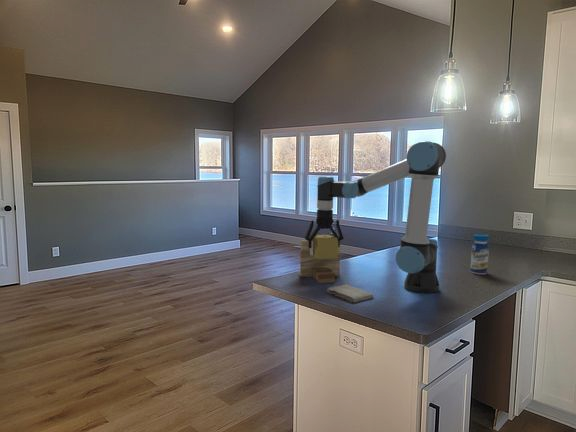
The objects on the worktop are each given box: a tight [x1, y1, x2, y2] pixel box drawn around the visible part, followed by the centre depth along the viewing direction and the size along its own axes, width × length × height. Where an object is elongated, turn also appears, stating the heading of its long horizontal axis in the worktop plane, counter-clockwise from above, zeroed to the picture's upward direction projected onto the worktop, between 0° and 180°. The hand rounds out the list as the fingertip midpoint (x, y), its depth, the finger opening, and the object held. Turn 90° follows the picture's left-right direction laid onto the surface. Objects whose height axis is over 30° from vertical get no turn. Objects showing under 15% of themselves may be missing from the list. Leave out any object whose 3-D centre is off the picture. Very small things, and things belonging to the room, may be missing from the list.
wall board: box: [298, 239, 341, 284], centre depth 204 cm, size 16×20×18 cm
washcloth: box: [326, 284, 374, 304], centre depth 178 cm, size 12×18×3 cm, turn 36°
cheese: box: [309, 234, 338, 259], centre depth 201 cm, size 10×11×10 cm
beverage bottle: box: [469, 233, 490, 275], centre depth 217 cm, size 8×8×20 cm
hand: (323, 254), depth 201 cm, fingers closed on cheese, 11 cm apart
